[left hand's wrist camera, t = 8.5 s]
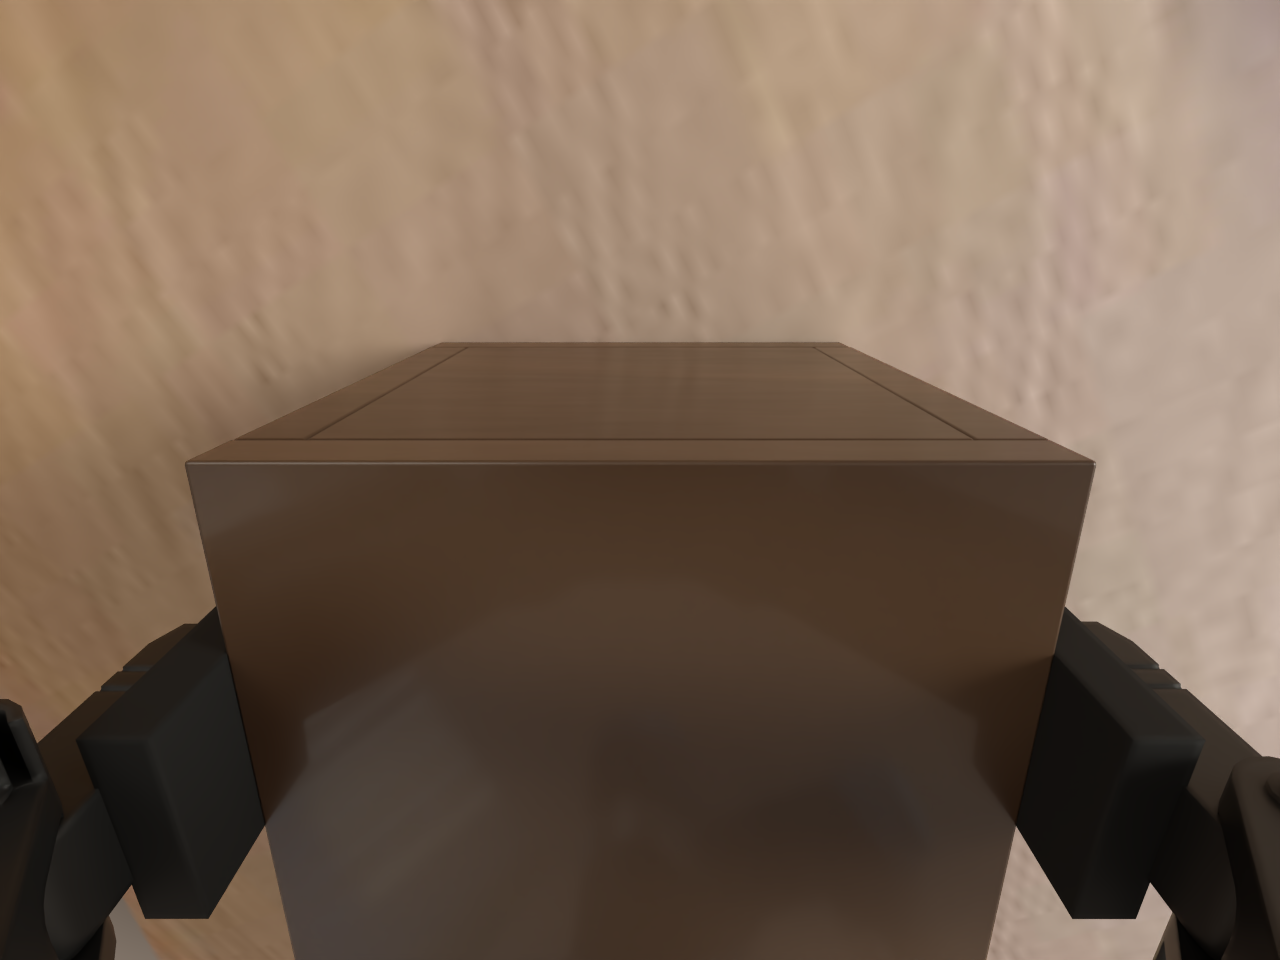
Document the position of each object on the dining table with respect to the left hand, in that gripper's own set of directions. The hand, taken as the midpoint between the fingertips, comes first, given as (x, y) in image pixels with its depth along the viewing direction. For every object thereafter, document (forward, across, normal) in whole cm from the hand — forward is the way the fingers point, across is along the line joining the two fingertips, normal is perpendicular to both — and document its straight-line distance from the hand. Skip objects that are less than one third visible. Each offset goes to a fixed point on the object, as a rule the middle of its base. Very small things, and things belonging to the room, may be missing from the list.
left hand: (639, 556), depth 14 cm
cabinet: (+5, 0, -7) cm, 9 cm away
